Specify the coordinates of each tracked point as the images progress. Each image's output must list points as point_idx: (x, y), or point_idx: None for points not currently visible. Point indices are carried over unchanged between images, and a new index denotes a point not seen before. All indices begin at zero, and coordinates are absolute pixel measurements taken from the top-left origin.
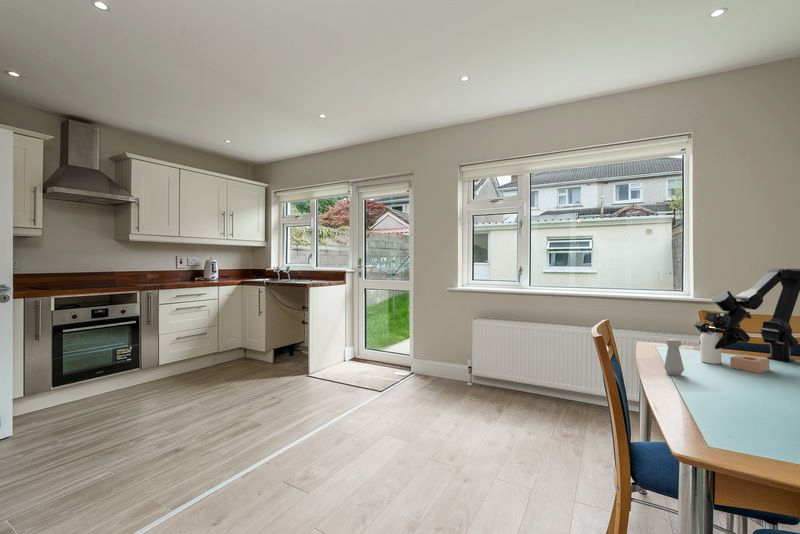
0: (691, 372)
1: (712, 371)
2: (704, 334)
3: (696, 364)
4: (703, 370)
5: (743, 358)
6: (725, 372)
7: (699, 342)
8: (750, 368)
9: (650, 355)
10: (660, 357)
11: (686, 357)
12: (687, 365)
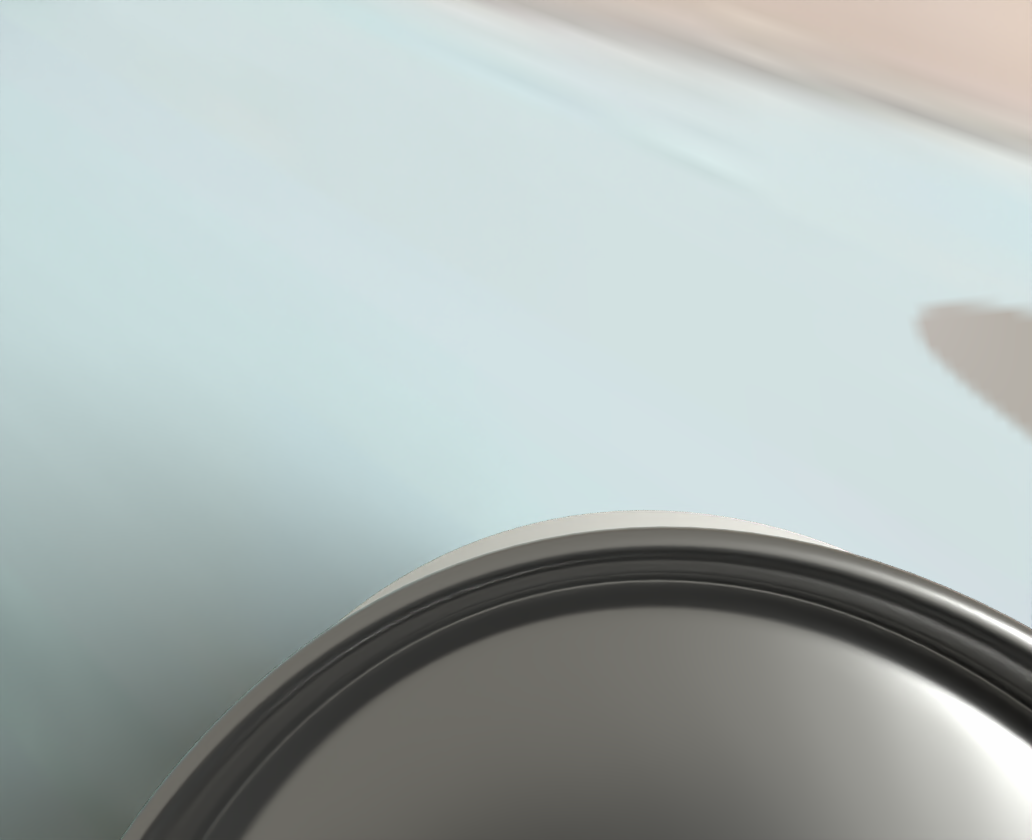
0: (90, 107)
1: (83, 379)
2: (556, 566)
3: (458, 401)
4: (143, 293)
5: None
6: (7, 528)
7: None
8: None
9: (1022, 29)
10: (894, 110)
11: (999, 552)
12: (402, 237)
